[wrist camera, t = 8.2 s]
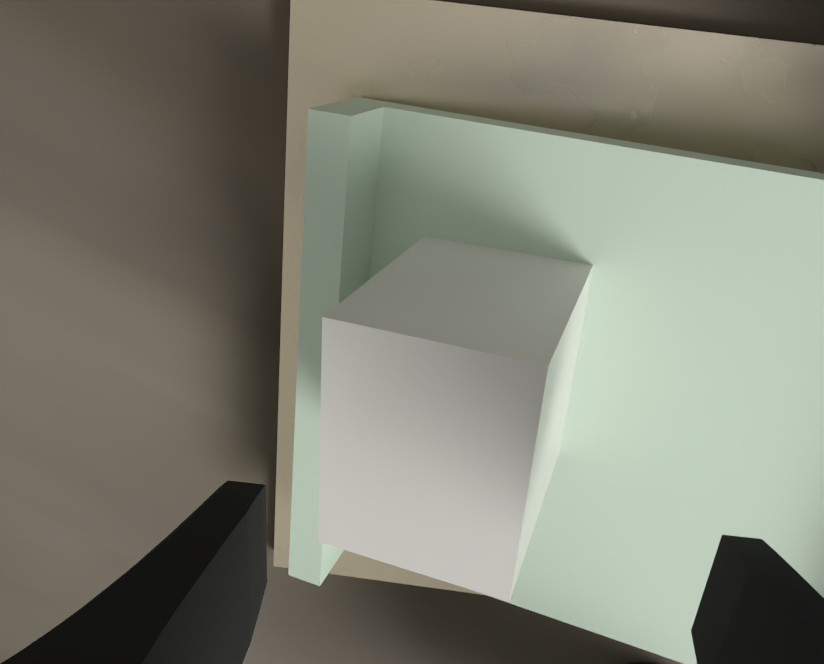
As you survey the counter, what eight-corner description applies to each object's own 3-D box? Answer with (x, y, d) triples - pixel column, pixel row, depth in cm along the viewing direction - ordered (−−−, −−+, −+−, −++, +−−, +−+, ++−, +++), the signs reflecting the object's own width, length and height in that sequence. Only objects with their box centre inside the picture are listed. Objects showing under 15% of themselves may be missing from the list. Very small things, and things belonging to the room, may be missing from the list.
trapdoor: (1403, 253, 14) (1672, 343, 10) (1066, 719, 19) (1155, 892, 15) (385, 90, 19) (308, 108, 15) (351, 489, 25) (288, 574, 21)
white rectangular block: (593, 265, 16) (548, 365, 12) (559, 452, 19) (509, 602, 14) (425, 236, 18) (321, 316, 13) (410, 414, 20) (318, 541, 15)
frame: (1242, 93, 17) (1606, 143, 11) (931, 642, 24) (1060, 829, 19) (296, -16, 17) (216, -19, 12) (277, 553, 25) (223, 709, 20)
